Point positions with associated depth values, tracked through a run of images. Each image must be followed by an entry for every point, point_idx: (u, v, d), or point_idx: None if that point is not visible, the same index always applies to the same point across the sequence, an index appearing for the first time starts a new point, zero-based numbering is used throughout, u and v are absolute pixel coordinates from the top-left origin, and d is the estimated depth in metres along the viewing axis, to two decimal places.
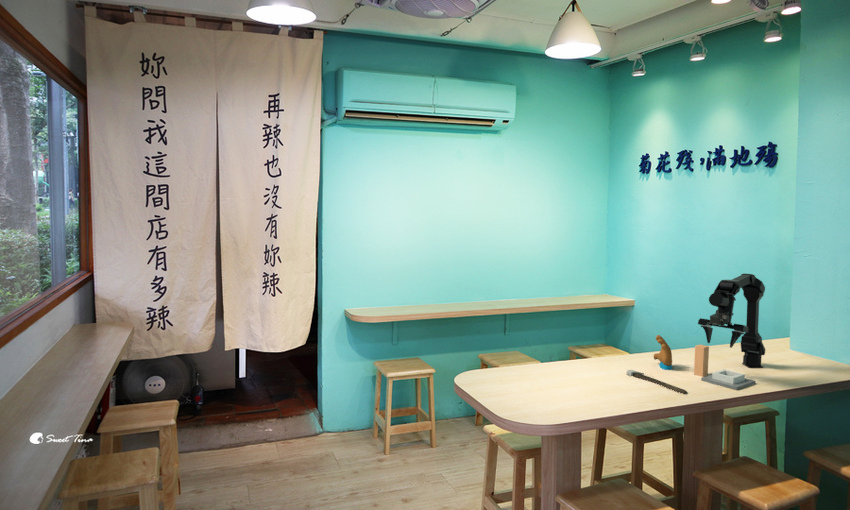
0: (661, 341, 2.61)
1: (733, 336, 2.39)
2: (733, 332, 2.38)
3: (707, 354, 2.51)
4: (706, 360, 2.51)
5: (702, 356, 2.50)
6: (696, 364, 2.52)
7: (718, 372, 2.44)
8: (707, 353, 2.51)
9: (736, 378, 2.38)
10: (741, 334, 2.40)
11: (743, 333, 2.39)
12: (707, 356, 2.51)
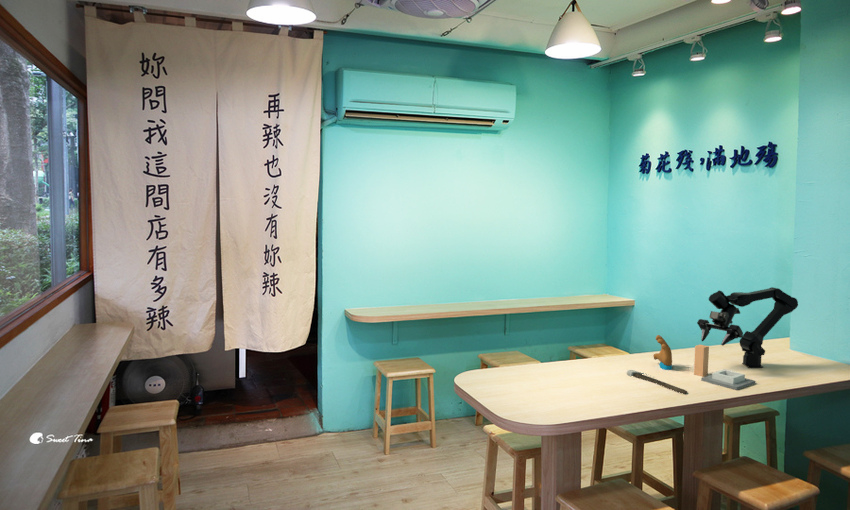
0: (661, 341, 2.61)
1: (727, 335, 2.52)
2: (728, 330, 2.52)
3: (707, 354, 2.51)
4: (706, 360, 2.51)
5: (702, 356, 2.50)
6: (696, 364, 2.52)
7: (718, 372, 2.44)
8: (706, 353, 2.51)
9: (736, 378, 2.38)
10: None
11: (737, 336, 2.52)
12: (707, 356, 2.51)
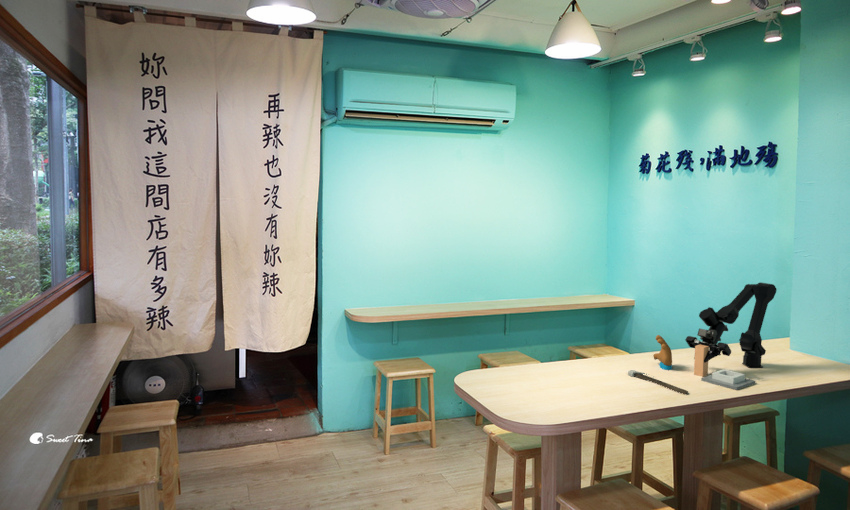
0: (661, 341, 2.61)
1: (710, 351, 2.50)
2: (711, 347, 2.50)
3: None
4: None
5: (702, 356, 2.50)
6: (696, 364, 2.52)
7: (718, 372, 2.44)
8: None
9: (736, 378, 2.38)
10: (717, 355, 2.51)
11: (719, 353, 2.50)
12: None
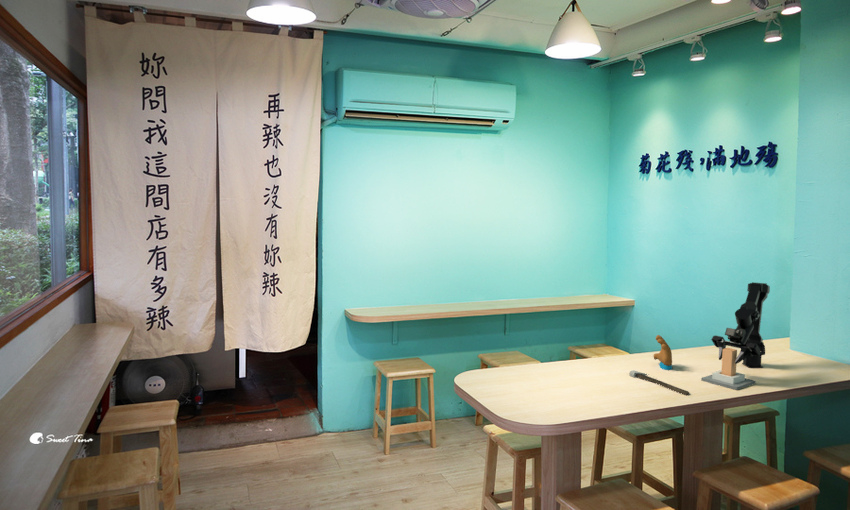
0: (661, 341, 2.61)
1: (741, 352, 2.39)
2: (742, 348, 2.38)
3: (735, 358, 2.41)
4: (734, 364, 2.41)
5: (730, 360, 2.40)
6: (723, 368, 2.42)
7: (718, 372, 2.44)
8: (735, 357, 2.41)
9: (736, 378, 2.38)
10: (749, 356, 2.40)
11: (751, 354, 2.39)
12: (735, 360, 2.41)
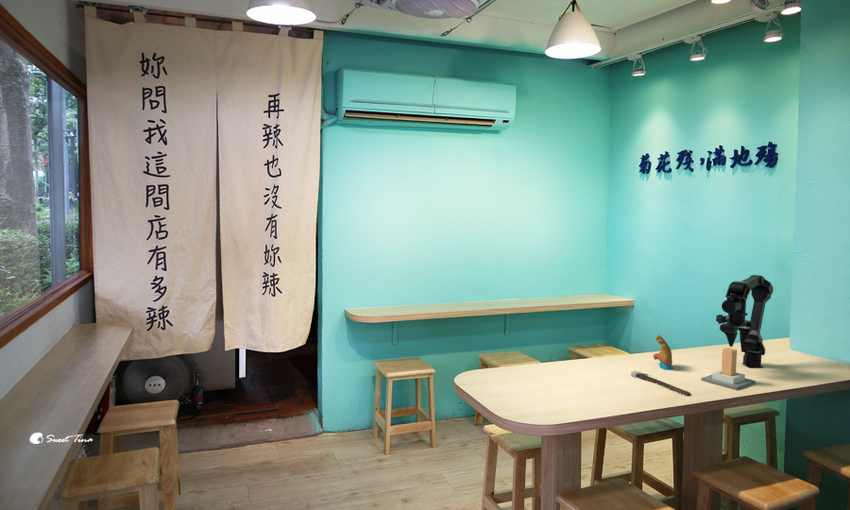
0: (661, 341, 2.61)
1: None
2: None
3: (735, 358, 2.41)
4: (734, 364, 2.41)
5: (730, 360, 2.40)
6: (723, 368, 2.42)
7: (718, 372, 2.44)
8: (735, 357, 2.41)
9: (736, 378, 2.38)
10: (734, 334, 2.47)
11: (731, 333, 2.47)
12: (735, 360, 2.41)
